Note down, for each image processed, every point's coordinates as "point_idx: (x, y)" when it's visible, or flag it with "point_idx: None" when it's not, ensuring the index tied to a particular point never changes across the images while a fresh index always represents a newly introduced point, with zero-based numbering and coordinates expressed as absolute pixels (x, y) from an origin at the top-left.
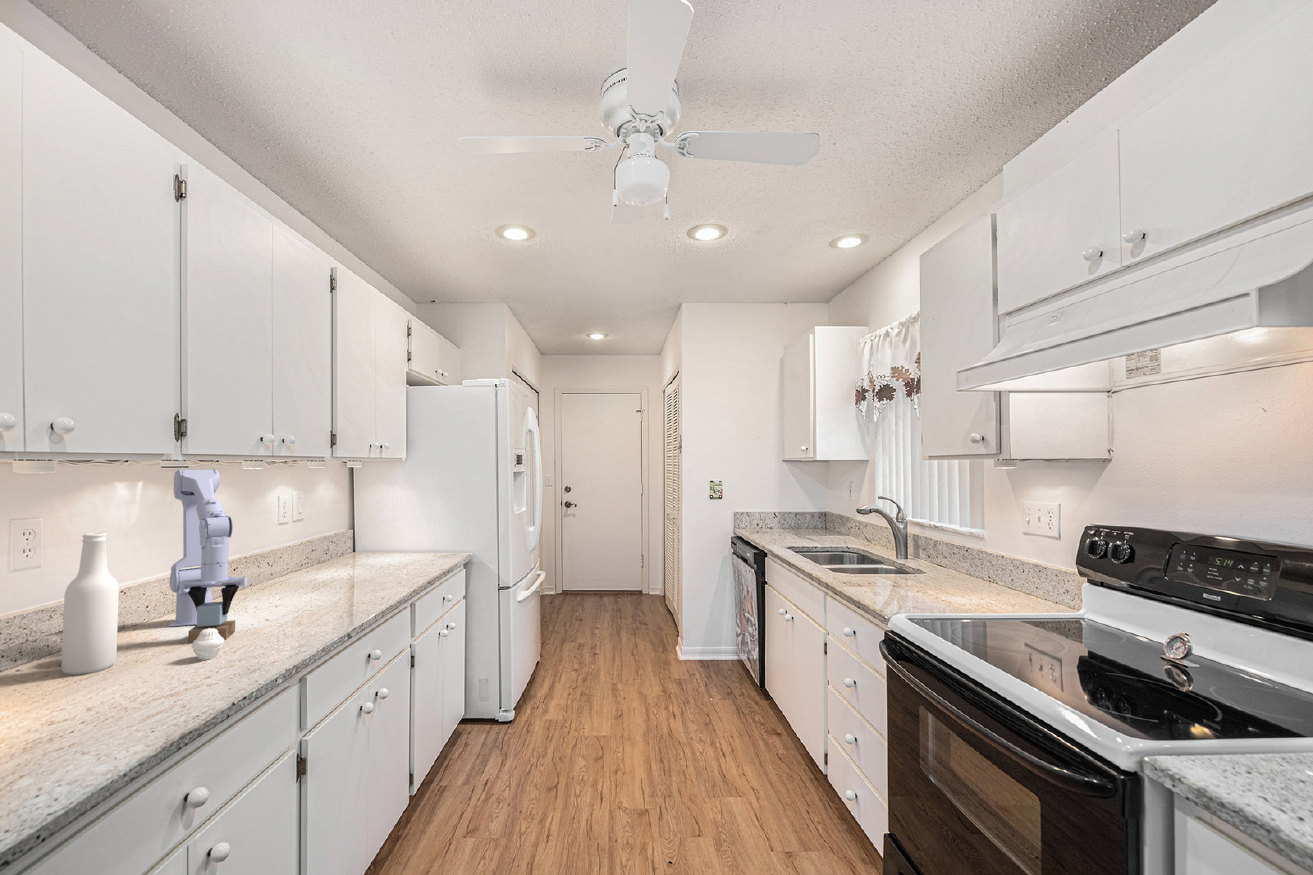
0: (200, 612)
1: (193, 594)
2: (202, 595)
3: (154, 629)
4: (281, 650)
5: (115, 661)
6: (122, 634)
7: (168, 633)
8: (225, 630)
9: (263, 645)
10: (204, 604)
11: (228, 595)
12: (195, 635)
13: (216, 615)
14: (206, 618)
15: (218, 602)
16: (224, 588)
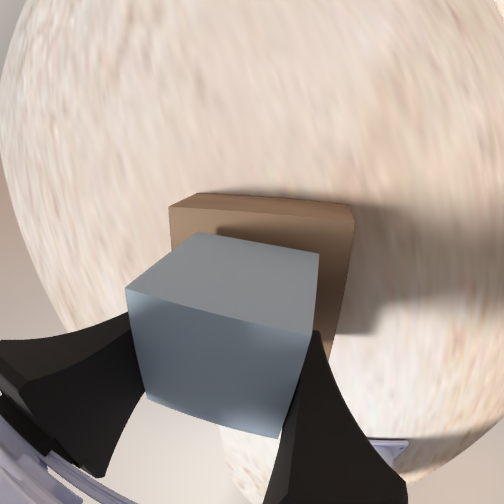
0: (287, 295)
1: (348, 475)
2: (275, 474)
3: (437, 431)
4: (45, 29)
5: (497, 2)
6: (495, 408)
7: (418, 392)
8: (178, 203)
9: (72, 75)
10: (269, 395)
11: (44, 342)
12: (318, 209)
13: (185, 256)
14: (254, 264)
15: (188, 400)
16: (13, 393)
